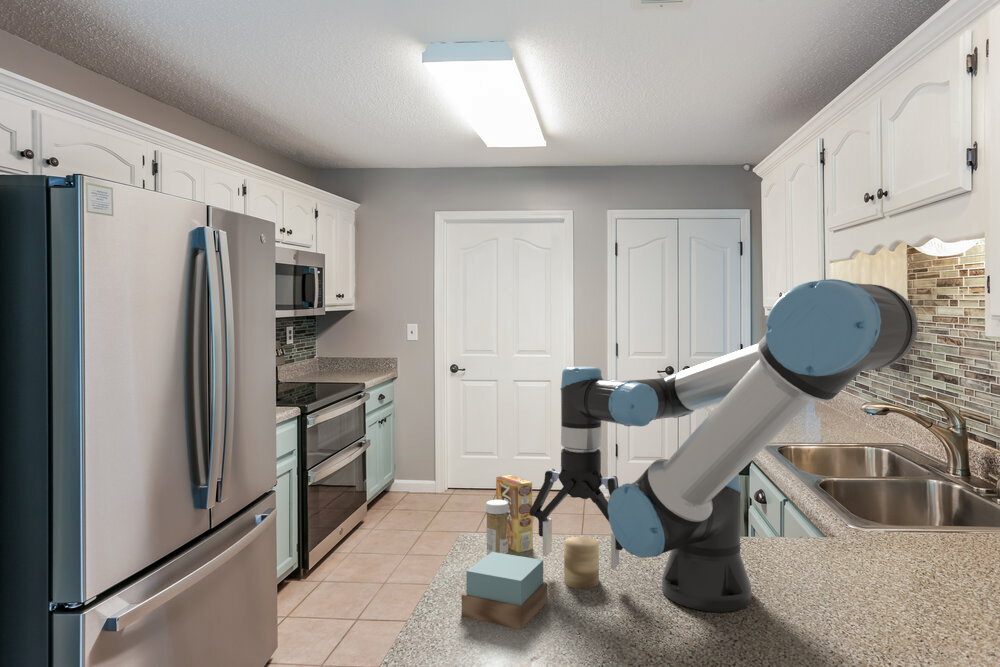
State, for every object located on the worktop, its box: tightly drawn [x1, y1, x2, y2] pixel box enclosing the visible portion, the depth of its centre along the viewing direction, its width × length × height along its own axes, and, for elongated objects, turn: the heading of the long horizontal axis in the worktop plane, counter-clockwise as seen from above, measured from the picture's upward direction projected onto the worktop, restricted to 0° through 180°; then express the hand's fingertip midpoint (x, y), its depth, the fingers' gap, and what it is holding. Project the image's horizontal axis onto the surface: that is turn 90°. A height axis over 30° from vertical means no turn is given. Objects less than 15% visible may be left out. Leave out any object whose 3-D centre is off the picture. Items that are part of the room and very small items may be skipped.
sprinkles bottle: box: [485, 499, 509, 556], centre depth 125 cm, size 5×5×14 cm
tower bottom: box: [461, 581, 548, 631], centre depth 106 cm, size 11×11×4 cm
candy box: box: [495, 474, 534, 553], centre depth 136 cm, size 9×4×15 cm, turn 33°
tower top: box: [465, 552, 544, 605], centre depth 106 cm, size 10×10×4 cm
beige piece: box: [563, 536, 600, 589], centre depth 117 cm, size 6×6×8 cm
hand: (580, 559), depth 117 cm, fingers open, 13 cm apart
